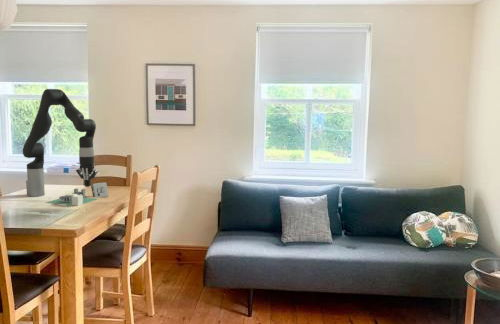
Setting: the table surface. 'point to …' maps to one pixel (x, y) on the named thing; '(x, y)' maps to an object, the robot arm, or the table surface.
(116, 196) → the table surface
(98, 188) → the electrical switch
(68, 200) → the white slotted block
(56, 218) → the table surface
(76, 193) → the thin grey panel
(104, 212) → the table surface
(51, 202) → the board
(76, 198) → the latch
